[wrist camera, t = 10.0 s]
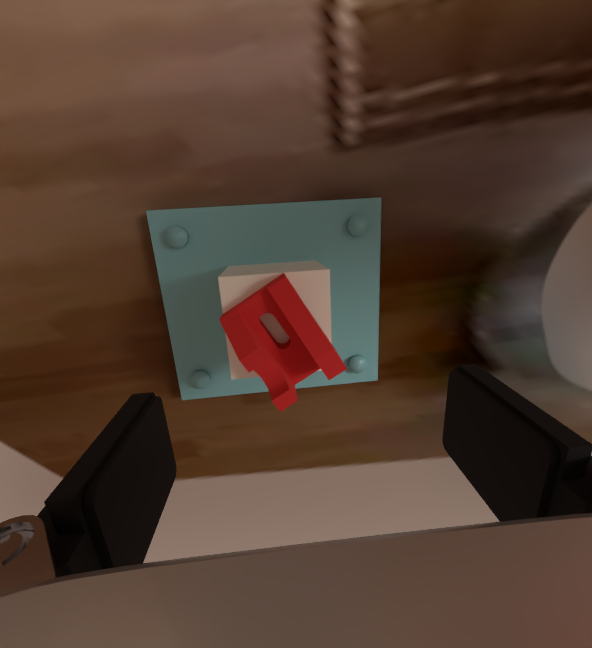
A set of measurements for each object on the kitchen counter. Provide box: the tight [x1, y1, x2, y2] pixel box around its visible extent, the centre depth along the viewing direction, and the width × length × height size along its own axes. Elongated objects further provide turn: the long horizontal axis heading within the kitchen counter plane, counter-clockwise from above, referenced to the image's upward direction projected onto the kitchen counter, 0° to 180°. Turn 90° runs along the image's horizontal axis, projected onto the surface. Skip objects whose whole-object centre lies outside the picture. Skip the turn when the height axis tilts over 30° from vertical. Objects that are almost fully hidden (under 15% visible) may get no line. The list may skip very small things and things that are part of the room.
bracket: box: [219, 273, 347, 411], centre depth 19 cm, size 6×5×3 cm
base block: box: [218, 260, 332, 379], centre depth 23 cm, size 7×7×6 cm
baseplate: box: [146, 197, 381, 400], centre depth 27 cm, size 18×16×2 cm
